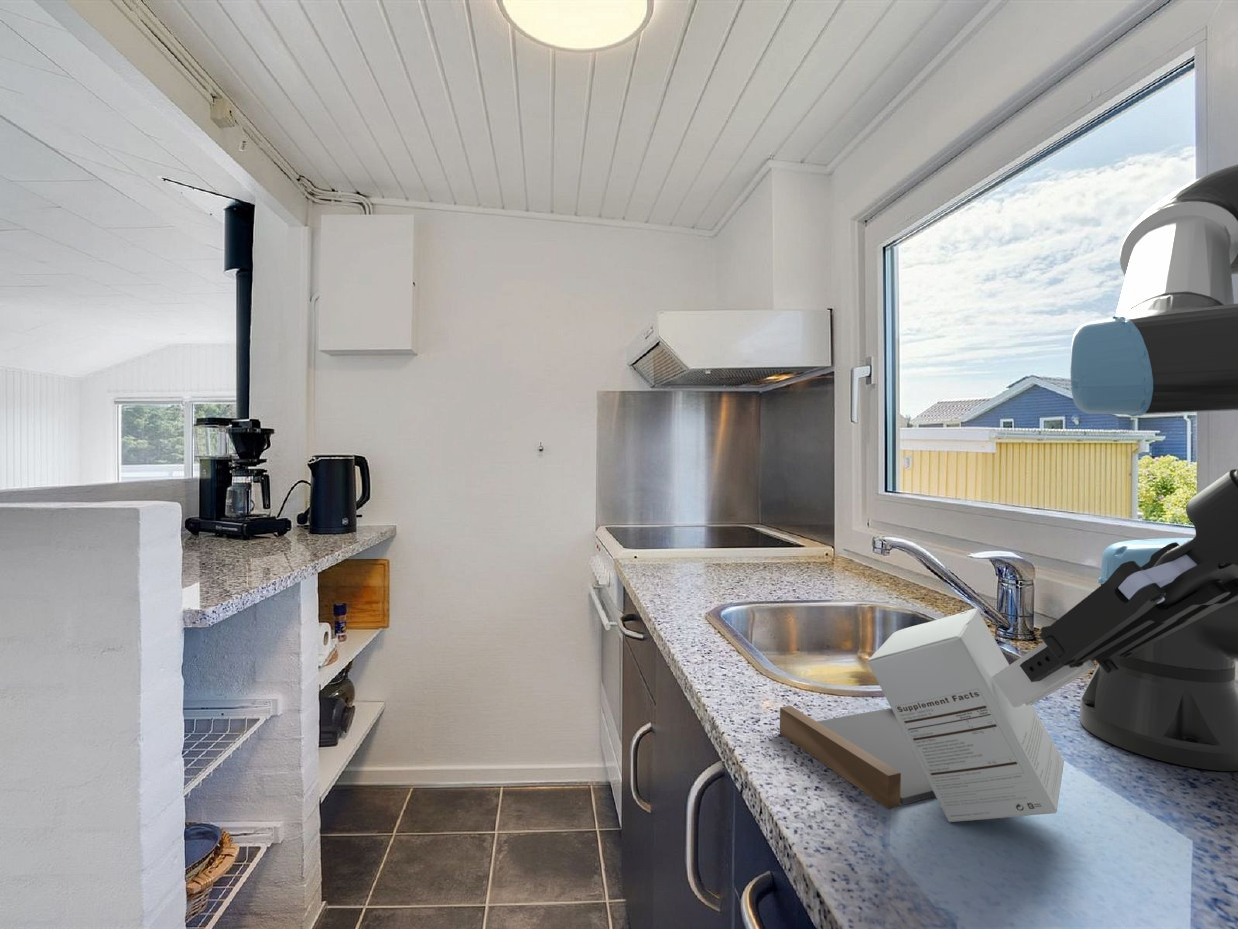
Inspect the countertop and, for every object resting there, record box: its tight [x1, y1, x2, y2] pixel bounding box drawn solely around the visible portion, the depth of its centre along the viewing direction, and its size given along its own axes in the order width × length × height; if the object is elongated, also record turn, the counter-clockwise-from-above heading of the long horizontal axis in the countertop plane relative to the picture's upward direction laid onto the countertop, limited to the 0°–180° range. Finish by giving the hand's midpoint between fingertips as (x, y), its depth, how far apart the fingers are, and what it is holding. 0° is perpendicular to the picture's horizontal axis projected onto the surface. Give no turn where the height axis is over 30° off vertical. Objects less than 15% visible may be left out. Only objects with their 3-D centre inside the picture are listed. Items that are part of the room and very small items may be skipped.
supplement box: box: [867, 607, 1065, 823], centre depth 55 cm, size 9×9×15 cm
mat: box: [816, 707, 936, 806], centre depth 65 cm, size 15×16×1 cm
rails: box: [779, 705, 901, 809], centre depth 65 cm, size 18×16×3 cm
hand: (1012, 690), depth 50 cm, fingers closed
